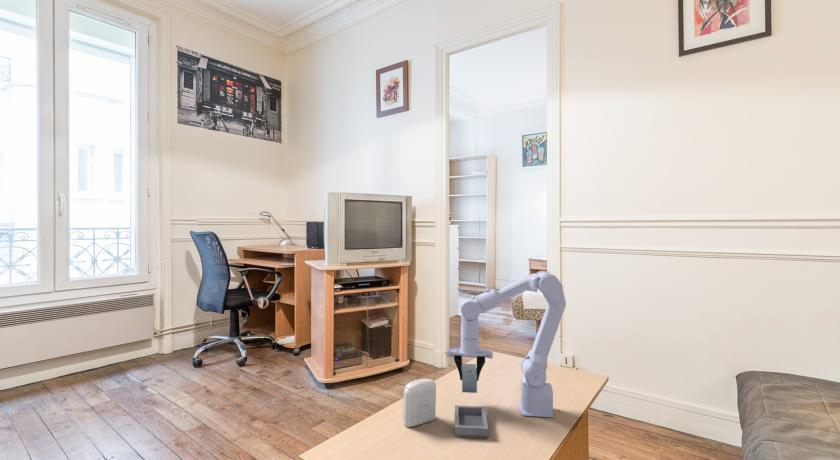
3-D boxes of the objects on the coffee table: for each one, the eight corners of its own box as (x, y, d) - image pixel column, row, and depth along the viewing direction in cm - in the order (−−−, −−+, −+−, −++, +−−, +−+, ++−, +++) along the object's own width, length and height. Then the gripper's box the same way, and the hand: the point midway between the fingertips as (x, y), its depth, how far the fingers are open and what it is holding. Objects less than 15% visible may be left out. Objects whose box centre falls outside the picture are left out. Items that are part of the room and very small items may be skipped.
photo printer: (429, 413, 119) (430, 374, 119) (437, 419, 115) (438, 379, 115) (400, 423, 113) (401, 381, 113) (408, 429, 110) (409, 386, 109)
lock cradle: (484, 415, 118) (484, 406, 118) (488, 438, 106) (488, 428, 106) (454, 414, 119) (454, 405, 119) (455, 436, 106) (455, 426, 106)
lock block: (475, 382, 127) (475, 364, 127) (476, 392, 119) (477, 373, 119) (461, 381, 128) (461, 363, 128) (462, 392, 120) (462, 373, 120)
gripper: (491, 334, 127) (490, 375, 127) (447, 332, 128) (446, 373, 128) (493, 341, 120) (492, 384, 120) (446, 339, 121) (446, 382, 121)
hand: (469, 379), depth 124 cm, fingers closed on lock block, 4 cm apart
